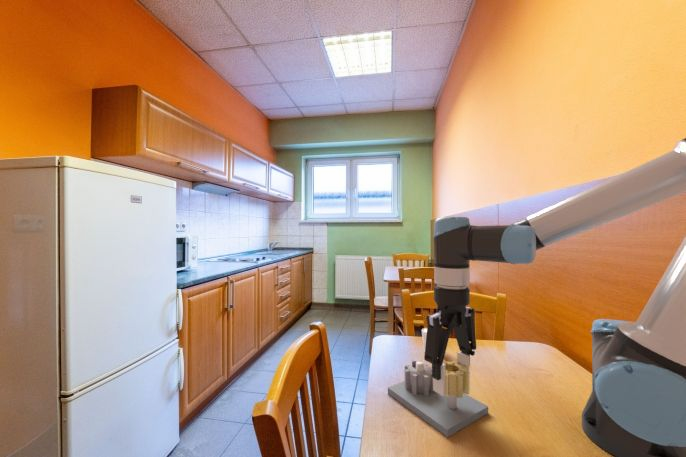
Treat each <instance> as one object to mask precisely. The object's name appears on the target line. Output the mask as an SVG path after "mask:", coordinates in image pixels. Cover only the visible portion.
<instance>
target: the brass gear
mask: <svg viewBox="0 0 686 457" xmlns="http://www.w3.org/2000/svg"><path fill="white" fill-rule="evenodd" d="M457 363H458V362H457V360H456V361H455V360H452V361H446V359H444V360H443V364H445V365H446V395H445V396H447V397H448V396H449V395H454V396H457V397H458V398H463V394H464V393H465V394H466V395H468V396H470V392H471V391H470V388H471V385H470V384H471V382H470V381H471V380H470V379H471V374H470V373H471V372H470V371H469V372H468V367H467V366H461V365H459V364H457Z"/></svg>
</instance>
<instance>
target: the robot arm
mask: <svg viewBox="0 0 686 457" xmlns="http://www.w3.org/2000/svg"><path fill="white" fill-rule="evenodd" d="M685 193H686V137H684V138H682V139H680V140H678V141H676V142H675V145H674V147H673V149H672V150H671V151H669V152H665V153H664V154H662V155H660V156H658V157H655V158H653V159H651V160H649V161H646V162H644V163H642V164H640V165H638V166H636V167H634V168H632V169H629V170H627V171H625V172H622V173H620V174H618V175H616V176H614V177H612V178H609V179H607V180H604V181H603V182H601V183H599V184H596V185H594V186H592V187H590V188H588V189H585V190H584V191H582V192H579V193H577V194H575V195H573V196H571V197H568V198H567V199H564V200H562V201H559V202H557V203H555V204H553V205H551V206H548V207H546V208H544V209H542V210H540V211H538V212H536V213H534V214H531V215H529V216H527V217H525V218H522V219H519V220H518V221H515V222H514V223H511V224H508V225H507V224H506V225H505V224H503V225H497V224H496V225H471V223H470V219H469V218H468V217H467V216H442V217H438V218H436V219H435V221H434V225H433V236H432V239H433V265H434V266H433V271H434V273H433V276H434V277H433V282H434V284H435V285H434V286H433V300H434V302H435V303H436V306H437V307H436V311H435V313H434V314H429V313H428V314H427V315H426V324H427V325H426V326H427V327H426V328H427V336H426V346H425V352H424V358H423V359H424V361H426V362H428V363H430V364H431V367H432V377H433V390H434V391H435V392H437V393H439V394H440V395H442V396H445V395H446V365H445V364H443V360H445V359H444V358H445V356H446V351H447V348H448V343H449V339H450V335H452V334H453V332H454V335H455V339H456V342H457V346H458V349H459V351H457V352H456V362H458V363H457V364H459V365H461V366H467V367H468V372H470V366H471V356H472V357H473V356H475V351H476V349H477V341H476V340H477V339H476V329H475V320H474V318H475V308H473V307H470V306H468V305H469V304H470V303H471V302H470V301H471V299H470V298H471V296H470V292H471V291H470V290H471V289H470V288H469V285H471V279H470V278H471V277H470V276H471V274H470V273H471V272H470V271H471V270H470V269H471V268H470V261H475V262H476V261H478V262H480V261H481V262H489V263H491V262H492V263H501V264H502V263H504V264H511V265H517V264H519V265H521V264H522V265H524V264H525V265H529V264H532V263H533V262H534V261H535V259H536V254H537V253H536V252H537V251H538V250H540V249H543V248H546V247H548V246H550V245H553V244H555V243H558V242H560V241H564V240H566V239H568V238H570V237H575V236H576V235H579V234H581V233H583V232H587V231H590V230H592V229H594V228H597V227H599V226H602V225H604V224H607V223H610V222H613V221H615V220H618V219H621V218H623V217H626V216H629V215H630V214H634V213H637V212H638V211H642V210H643V209H647V208H649V207H652V206H655V205H657V204H659V203H662V202H665V201H667V200H669V199H672V198H675V197H677V196H680V195H683V194H685ZM591 325H592V328H591V329H590V334H591V349H592V350H591V356H592V357H591V358H592V362H591V364H592V365H591V368H592V370H591V372H592V374H591V375H592V380H591V381H592V384H591V385H592V387H591V388H592V390H591V393H590V396H588V397H589V398H588V400H587V402H586V404H585V406H584V408H583V410H582V412H581V428H582V431H583V432H584V433H585V435H586V436H587V437H588V438H589V439H590V440H591V441H592V442H593V443H594V444H595V445H596V446H599V448H600V449H602V450H604V451H606V452H607V453H609V454H610V455H612V456H614V457H686V235H685V236H684V238H683V240H682V242H681V243H680V245H679V247H678V249H677V251H676V252H675V254H674V255H673V258H672V259H671V261H670V263H669V264H668V265H667V268H666V270H665V271H664V273H663V275H662V276H661V278H660V279H659V282H658V283H657V285H656V287H655V288H654V290H653V292H652V293H651V295H650V297H649V299H648V301H647V303H646V304H645V306H644V307H643V309H642V311H641V313H640V314H639V316H638V318H637V319H636V320H635V321H628V320H627V321H626V320H620V319H611V318H598V319H595V320H593V321H592V324H591Z"/></svg>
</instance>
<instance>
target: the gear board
mask: <svg viewBox="0 0 686 457" xmlns="http://www.w3.org/2000/svg"><path fill="white" fill-rule="evenodd" d="M411 361H412V362H411V364H410V365H409V364H405V365H404V381H401V382H398V383H395V384H394V385H393V384H392V385H391V386H388V387H387V394H388V395H389V396H390V397H391V398H393V399H395V400H396V401H398V402H399V403H400V404H402V405H403V406H405V407H406V409H409V410H410V411H411V412H412V413H414V414H415V415H417V417H419V418H421V419H422V420H424V421H425V422H426V423H427V424H428V425H430V426H431V427H433V428H434V429H436V430H437V431H438V432H440V434H442V435H444V436H445V437H447V438H449V437H451V436H452V435H454V434H456V433H457V432H459V431H460V430H462V429H464V428H466V427H467V426H469V425H471V424H472V423H474V422H475V421H477V420H479V419H481V418H483V417H484V416H486V415H488V414H489V406H488V405H487V404H484V403H482V402H481V401H479V400H477V399H475V398H473V397H472V396H470V395H468V394H465V393H464V394H463V398H458V397H457V396H454V395H449V396H448V397H447V396H442V395H440V394H439V393H437V392H435V391H434V390H433V377H432V366H431V367H430V366H428V363H425V362H423V361H416V360H411Z"/></svg>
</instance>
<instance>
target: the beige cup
mask: <svg viewBox="0 0 686 457" xmlns="http://www.w3.org/2000/svg"><path fill="white" fill-rule="evenodd" d="M426 336H427V327H424V328H422V329H421V337H422V338H421V339H422V347H423V348H422V349H423V352H424V353H425V346H426Z"/></svg>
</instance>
